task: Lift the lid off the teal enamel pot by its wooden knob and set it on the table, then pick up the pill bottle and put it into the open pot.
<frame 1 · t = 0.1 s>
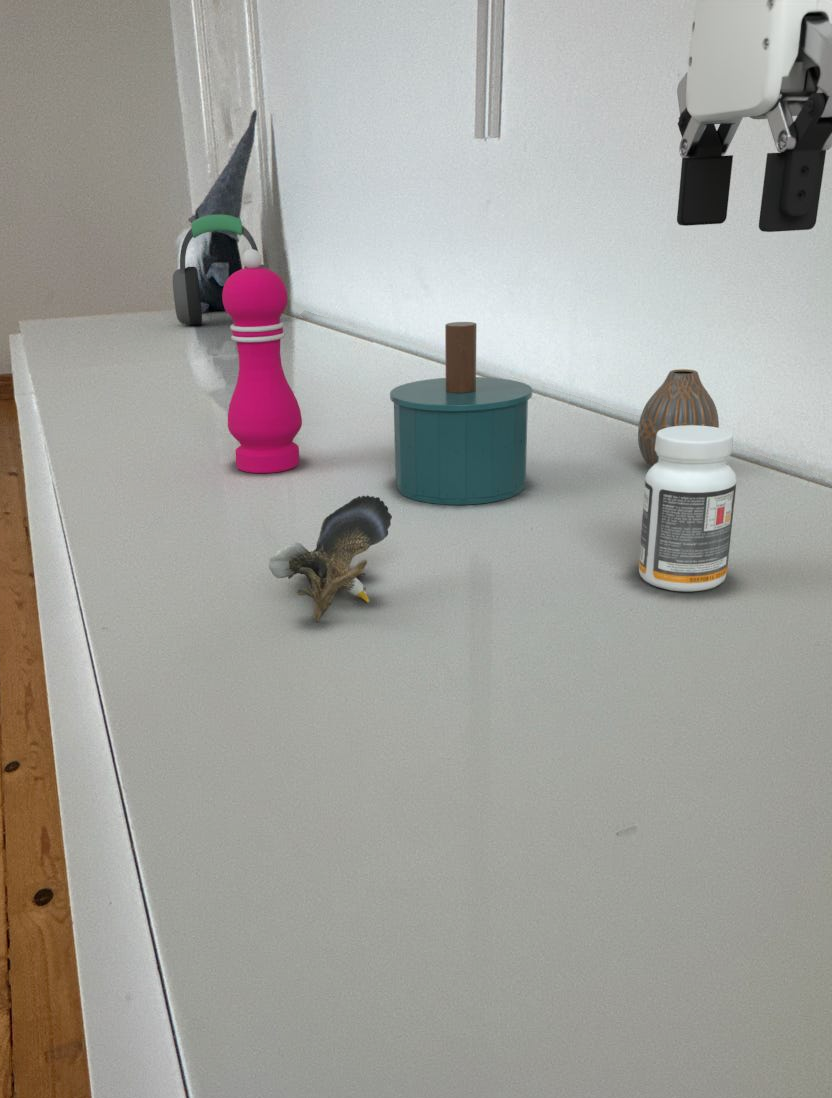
hand: (740, 227, 61), 22 cm above the sideboard, tool pointing down, fingers open, 9 cm apart
eagle figurine: (338, 601, 67), on the sideboard
vase: (674, 471, 92), on the sideboard
pepper mill: (268, 467, 99), on the sideboard
lid: (460, 396, 86), point 8 cm above the sideboard, touching pot
pot: (460, 485, 90), on the sideboard
pill bottle: (680, 581, 68), on the sideboard
headphones: (225, 324, 200), on the sideboard
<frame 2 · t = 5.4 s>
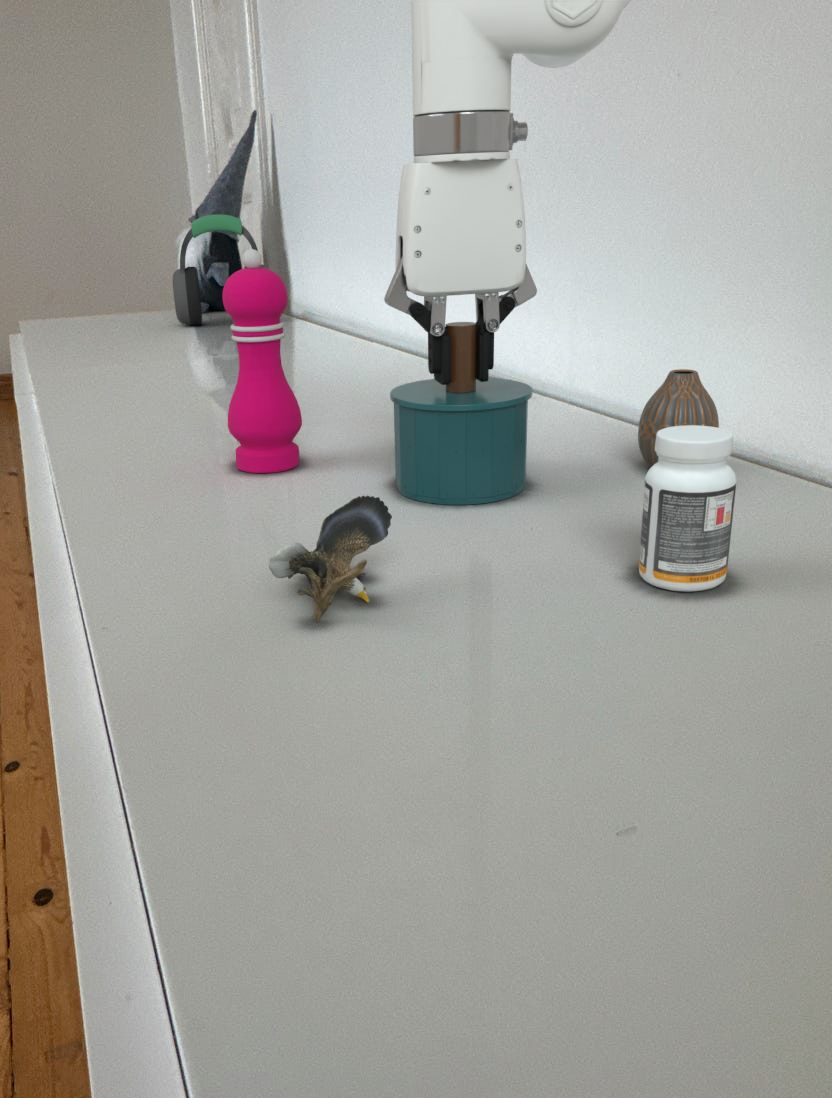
hand: (460, 378, 86), 9 cm above the sideboard, tool pointing down, fingers closed on lid, 2 cm apart
lid: (460, 396, 86), point 8 cm above the sideboard, touching gripper, pot
everything else where it was.
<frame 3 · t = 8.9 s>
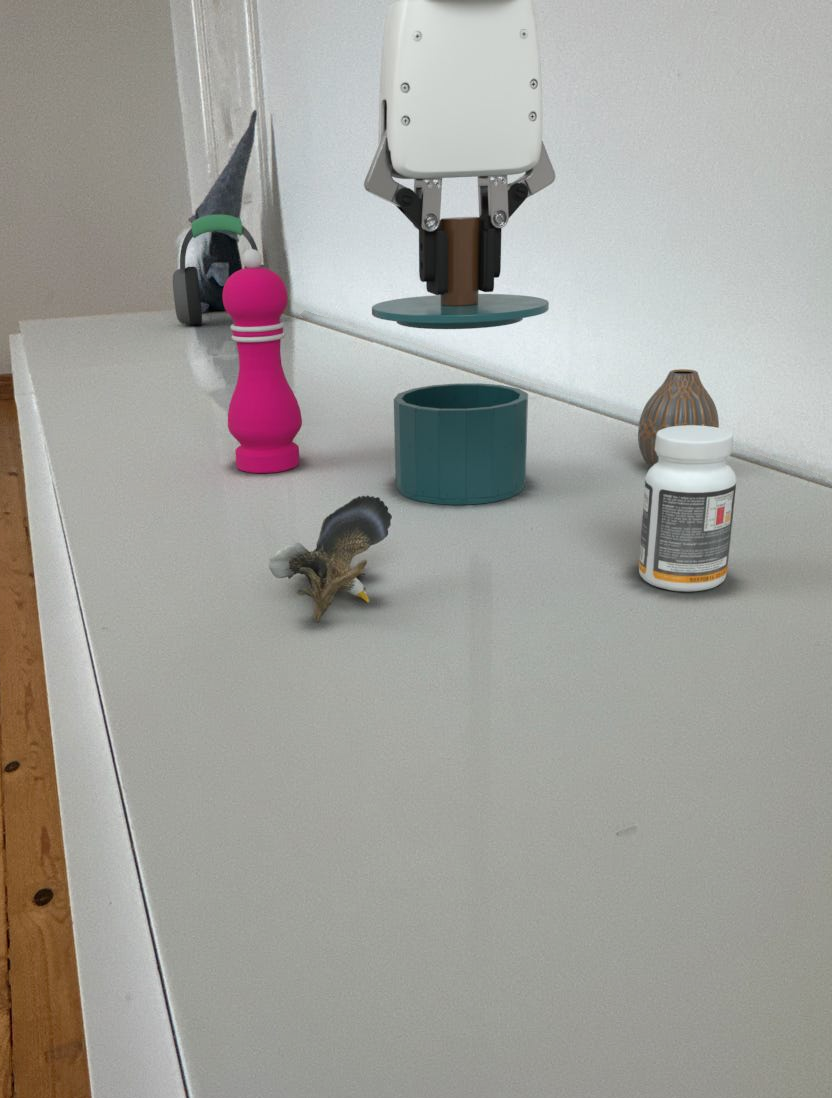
hand: (459, 289, 69), 18 cm above the sideboard, tool pointing down, fingers closed on lid, 2 cm apart
lid: (459, 311, 69), point 17 cm above the sideboard, touching gripper
everything else where it was.
when the fingers open (2 cm above the sideboard, at t = 12.6 s): lid stays where it is, point 1 cm above the sideboard.
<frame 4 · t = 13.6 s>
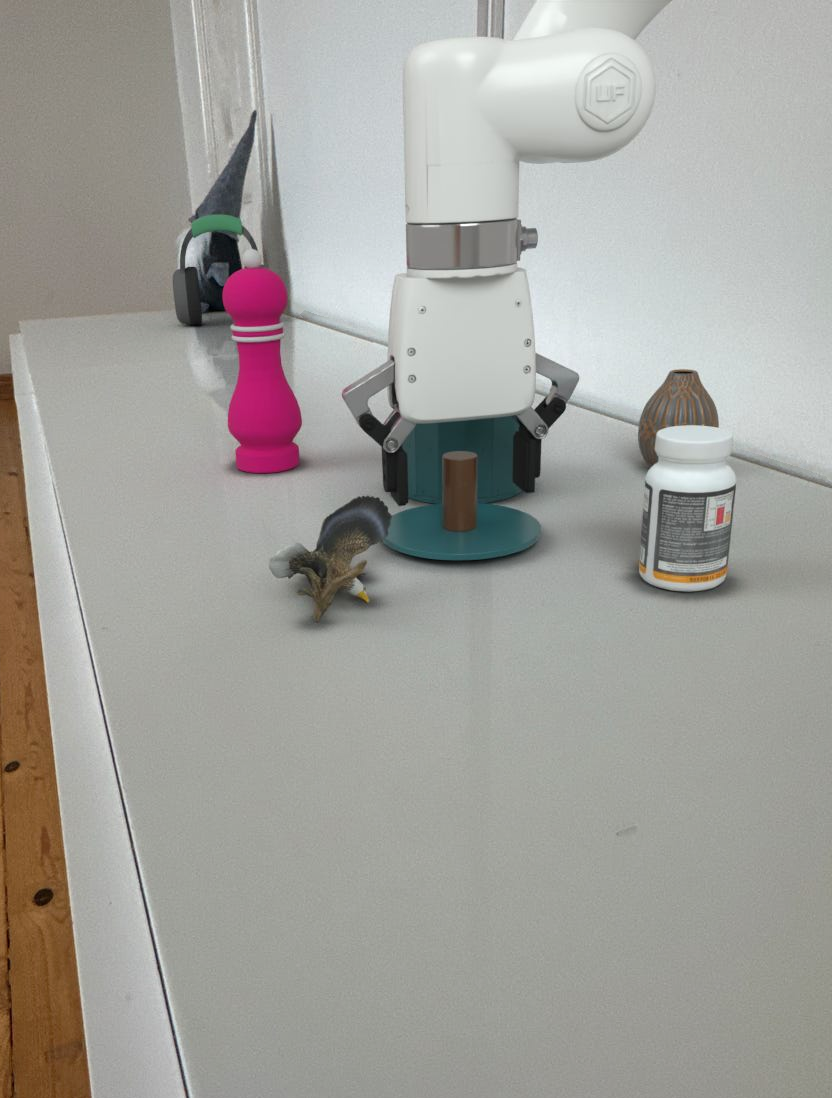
hand: (461, 494, 75), 4 cm above the sideboard, tool pointing down, fingers open, 9 cm apart
lid: (459, 532, 76), point 1 cm above the sideboard
everything else where it was.
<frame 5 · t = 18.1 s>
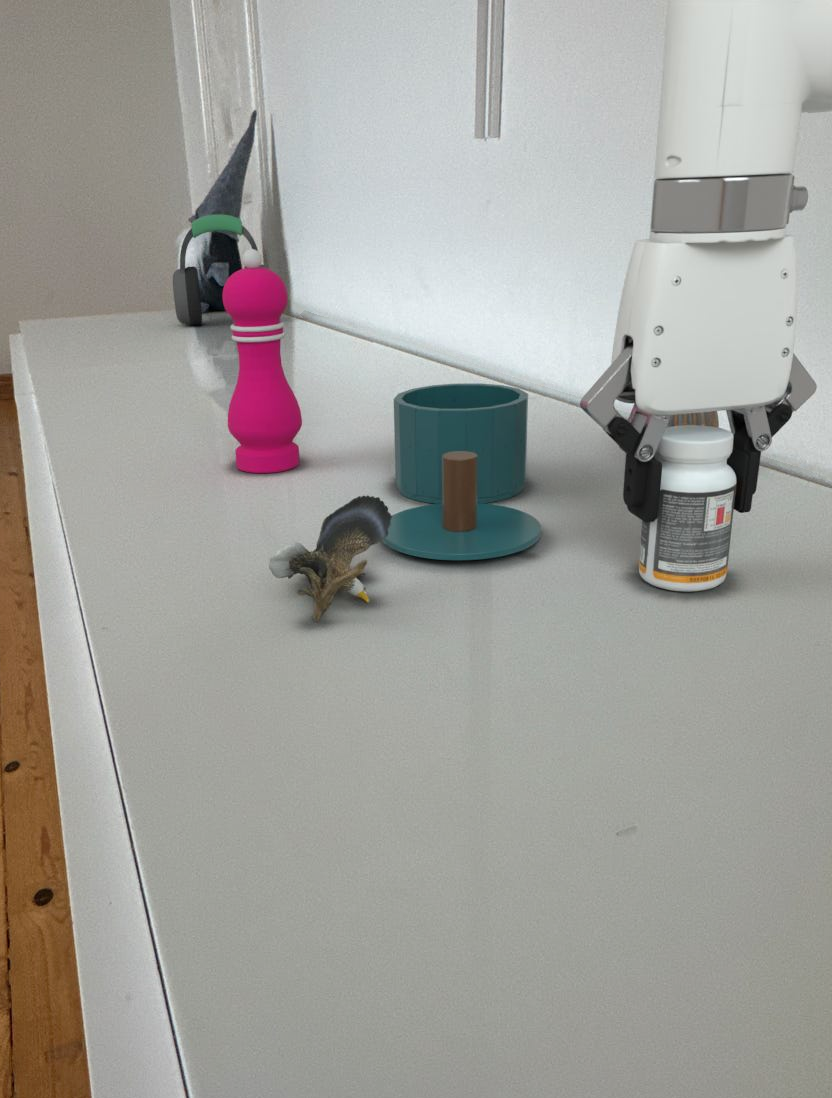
hand: (687, 508, 65), 5 cm above the sideboard, tool pointing down, fingers closed on pill bottle, 5 cm apart
pill bottle: (680, 581, 68), on the sideboard, touching gripper
everything else where it was.
when the fingers open (5 cm above the sideboard, at t = 26.8 s): pill bottle stays where it is, resting on pot.
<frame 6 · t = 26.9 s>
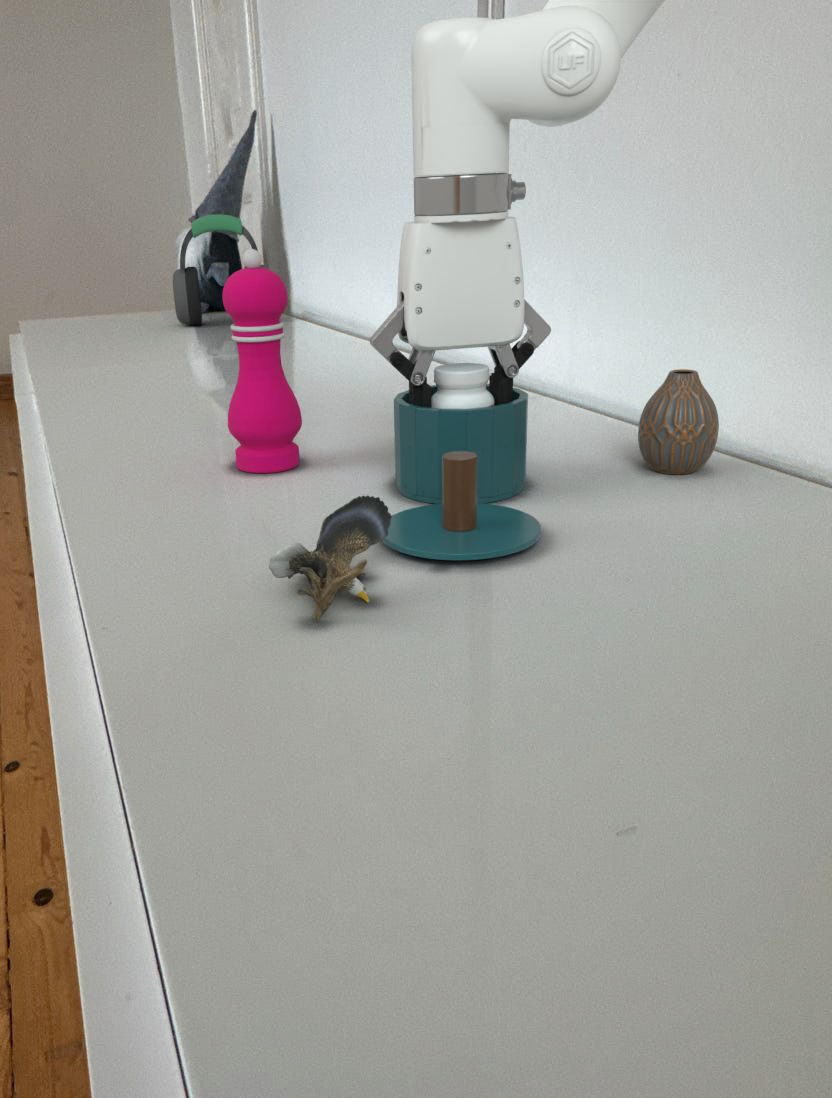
hand: (461, 423, 87), 6 cm above the sideboard, tool pointing down, fingers open, 6 cm apart
pill bottle: (461, 482, 89), resting on pot
everything else where it was.
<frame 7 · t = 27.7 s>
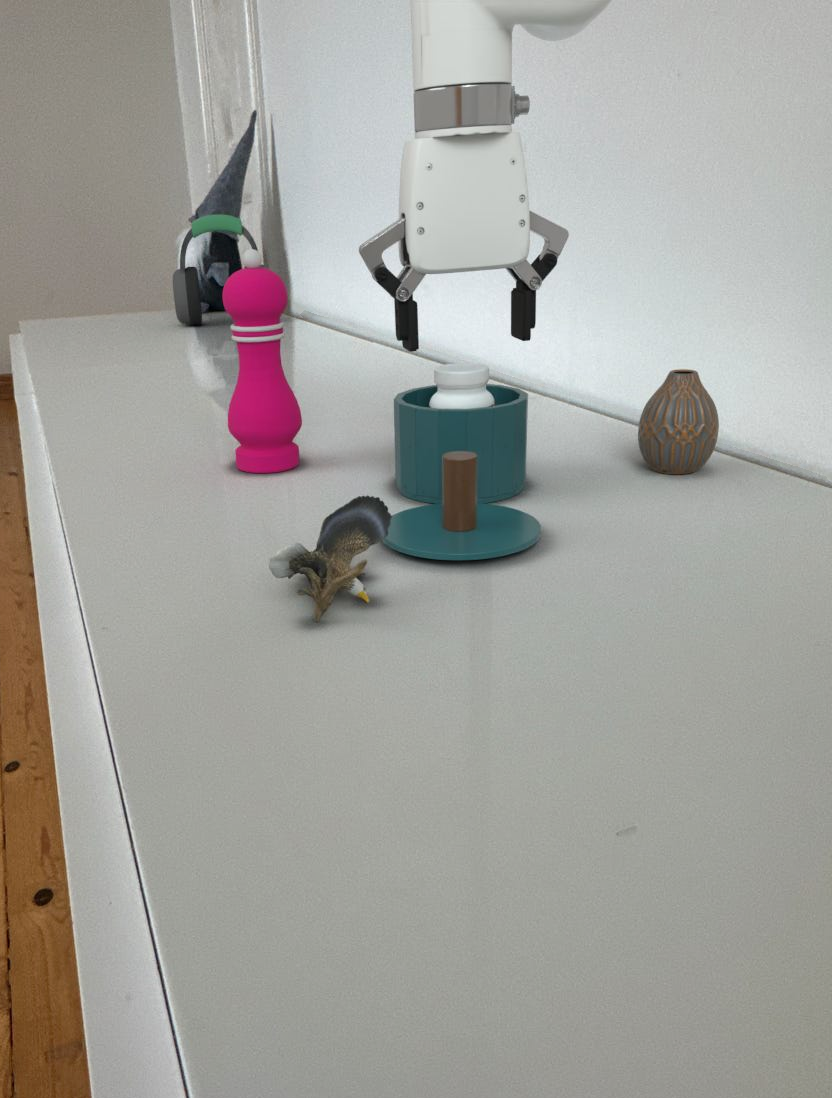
hand: (465, 343, 84), 12 cm above the sideboard, tool pointing down, fingers open, 9 cm apart
nothing on the sideboard moved.
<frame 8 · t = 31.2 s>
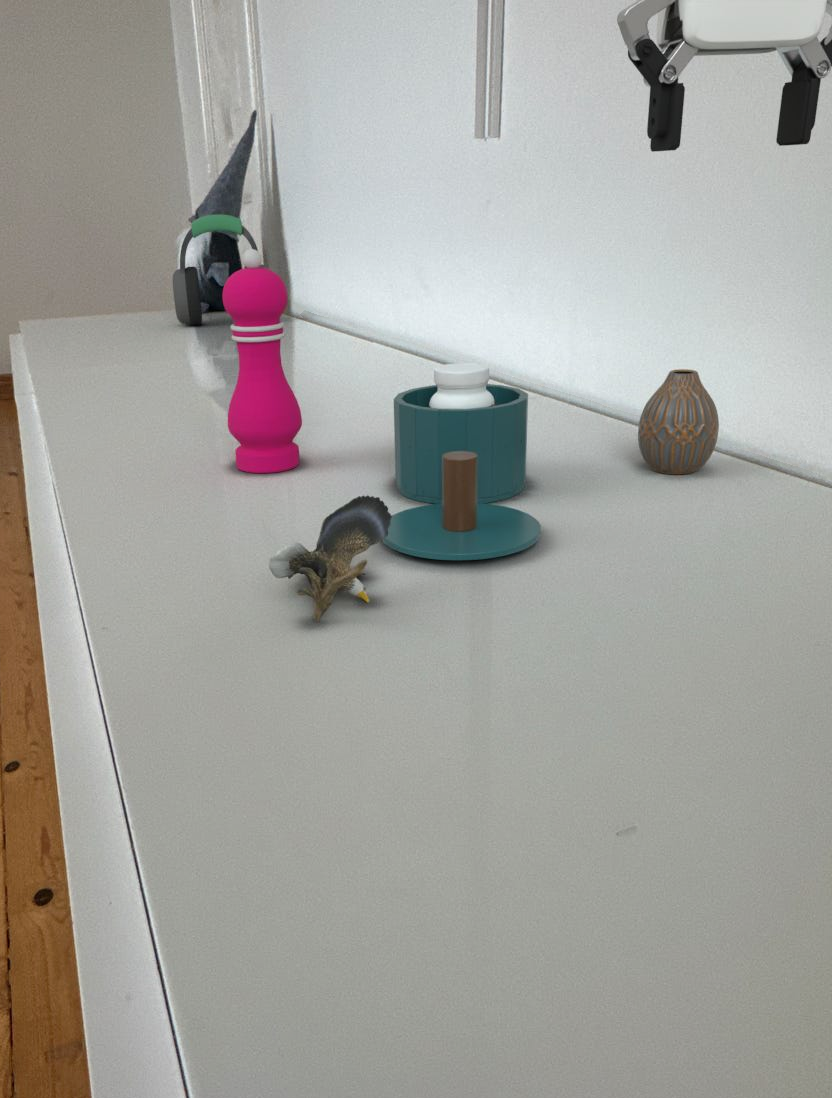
hand: (728, 147, 70), 26 cm above the sideboard, tool pointing down, fingers open, 9 cm apart
nothing on the sideboard moved.
at the end: lid inside the target area (0.0 cm from its centre), point 0.6 cm above the sideboard; pill bottle inside the target area in the pot (0.1 cm from its centre), point 0.3 cm above the pot's base; pill bottle tilted 0° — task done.
